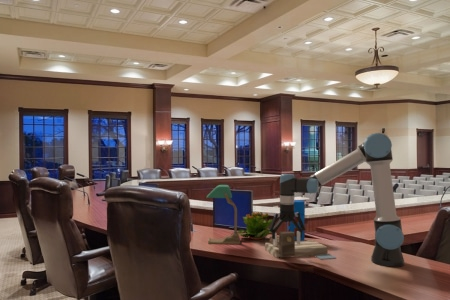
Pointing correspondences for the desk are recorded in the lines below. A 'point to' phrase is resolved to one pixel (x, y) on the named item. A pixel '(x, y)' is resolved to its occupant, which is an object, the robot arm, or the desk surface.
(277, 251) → the log raft
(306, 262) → the desk surface
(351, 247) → the desk surface
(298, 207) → the blue slotted block
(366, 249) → the desk surface
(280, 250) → the marking gauge
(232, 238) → the banker's lamp
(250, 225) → the potted flower
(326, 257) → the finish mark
